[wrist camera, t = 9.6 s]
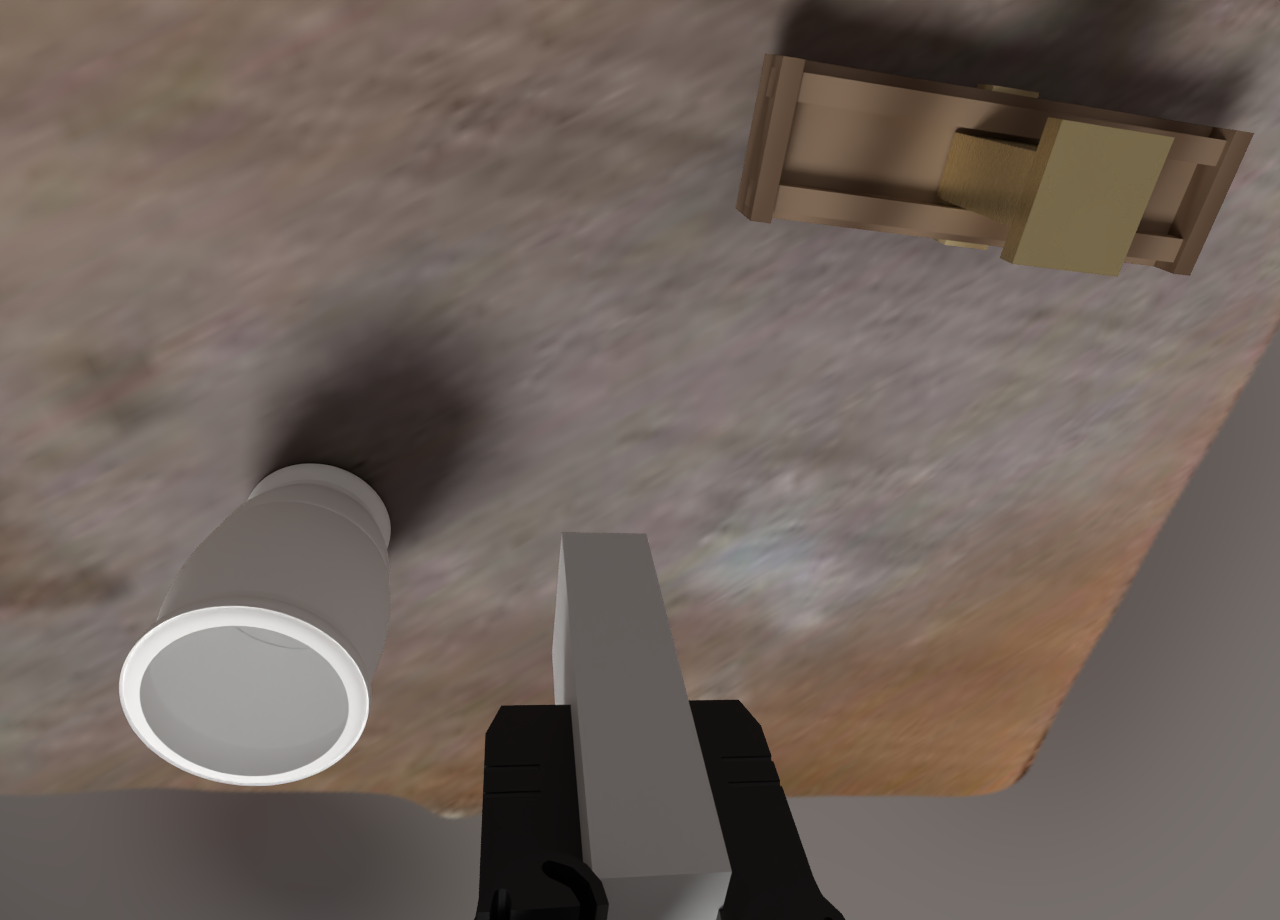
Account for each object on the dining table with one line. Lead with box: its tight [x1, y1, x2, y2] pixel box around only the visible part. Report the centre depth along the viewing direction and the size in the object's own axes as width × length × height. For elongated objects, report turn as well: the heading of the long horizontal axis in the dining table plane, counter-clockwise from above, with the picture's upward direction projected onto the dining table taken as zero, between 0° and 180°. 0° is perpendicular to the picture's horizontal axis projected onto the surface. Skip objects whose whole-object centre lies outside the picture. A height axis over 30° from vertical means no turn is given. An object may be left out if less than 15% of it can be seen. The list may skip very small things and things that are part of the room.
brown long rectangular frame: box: [736, 54, 1254, 276], centre depth 41 cm, size 24×8×6 cm, turn 82°
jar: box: [119, 463, 391, 786], centre depth 42 cm, size 11×10×15 cm
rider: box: [936, 117, 1174, 277], centre depth 37 cm, size 5×6×8 cm
